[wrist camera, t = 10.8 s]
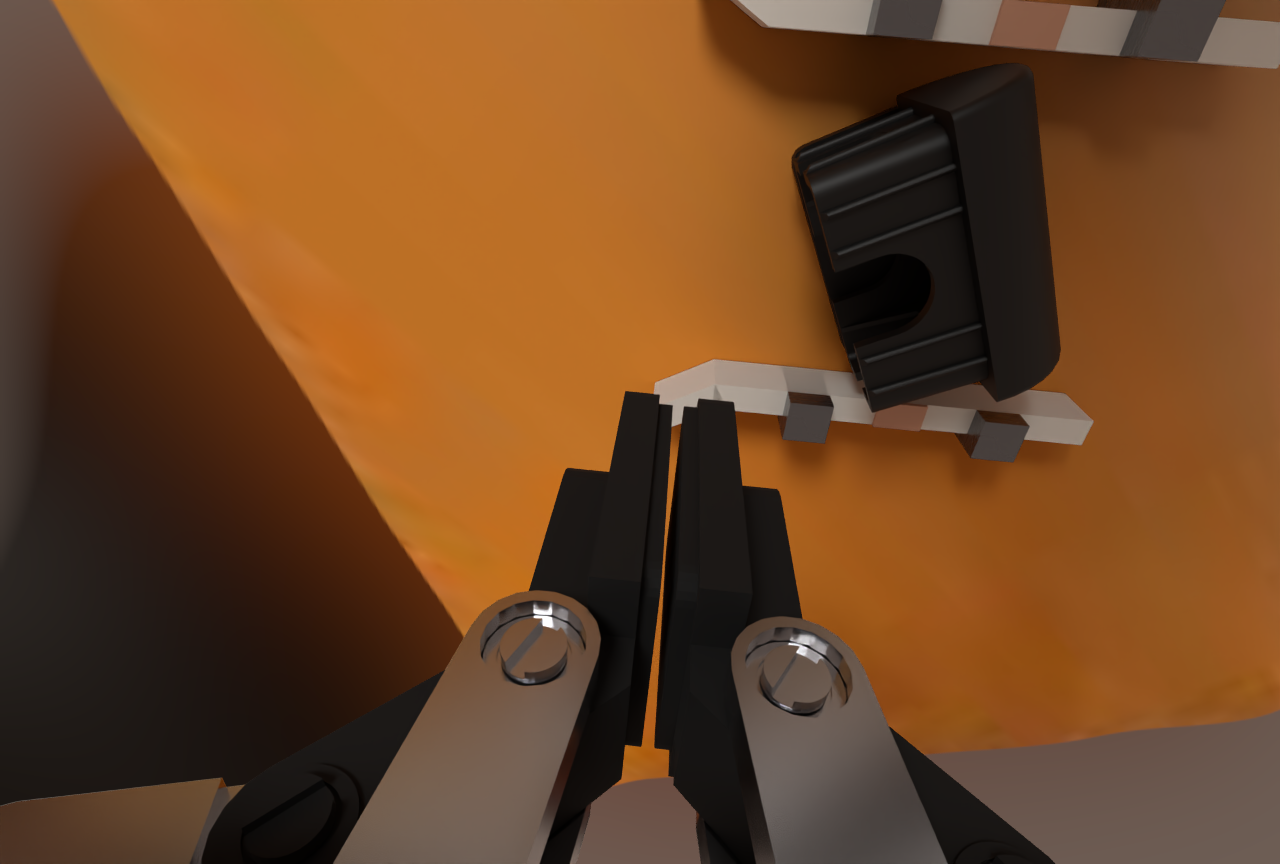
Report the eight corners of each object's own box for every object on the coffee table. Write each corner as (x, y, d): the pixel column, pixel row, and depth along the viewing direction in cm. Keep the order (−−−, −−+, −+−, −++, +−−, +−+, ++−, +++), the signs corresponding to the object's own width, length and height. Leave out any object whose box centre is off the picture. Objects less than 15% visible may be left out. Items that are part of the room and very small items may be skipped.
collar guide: (697, -69, 22) (697, -85, 19) (1264, -24, 21) (1358, -34, 18) (653, 401, 31) (648, 440, 28) (1042, 440, 31) (1079, 483, 28)
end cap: (1012, 305, 28) (1095, 378, 22) (846, 359, 29) (881, 438, 24) (979, 55, 23) (1072, 63, 17) (783, 138, 25) (809, 169, 19)
